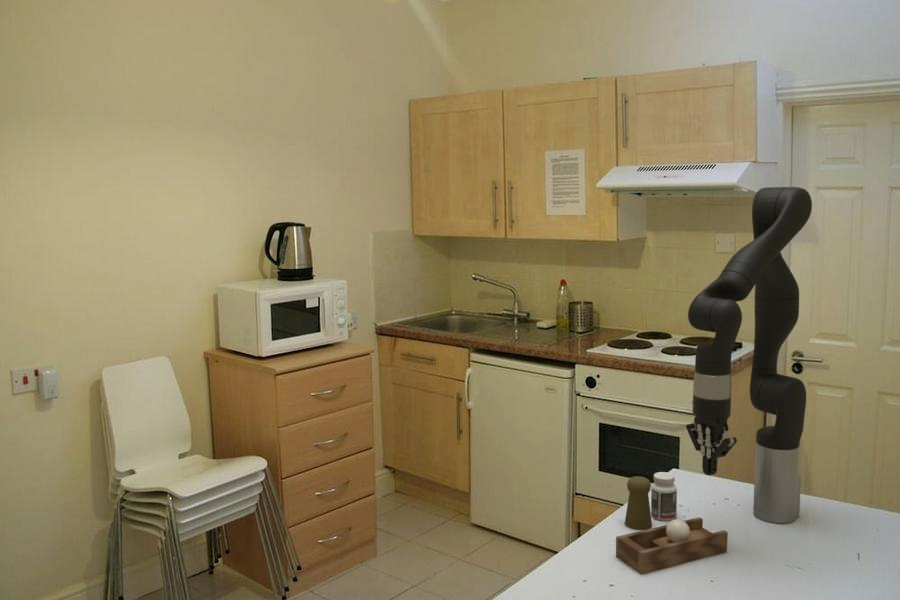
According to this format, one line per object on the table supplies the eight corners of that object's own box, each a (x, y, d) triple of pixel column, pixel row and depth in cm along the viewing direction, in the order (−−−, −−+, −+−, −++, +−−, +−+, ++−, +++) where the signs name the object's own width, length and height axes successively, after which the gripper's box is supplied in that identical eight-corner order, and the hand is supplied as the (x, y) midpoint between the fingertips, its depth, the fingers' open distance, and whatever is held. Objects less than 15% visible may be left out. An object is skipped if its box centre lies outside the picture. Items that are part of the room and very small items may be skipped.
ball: (679, 535, 167) (679, 513, 167) (694, 544, 163) (695, 522, 162) (660, 539, 165) (661, 518, 165) (676, 549, 161) (676, 526, 160)
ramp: (698, 536, 172) (699, 517, 171) (727, 552, 164) (727, 532, 164) (615, 556, 163) (616, 536, 163) (641, 574, 156) (641, 553, 155)
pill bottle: (679, 514, 184) (680, 473, 182) (672, 523, 179) (673, 481, 177) (654, 509, 187) (655, 469, 185) (647, 518, 182) (648, 477, 180)
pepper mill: (652, 531, 175) (653, 483, 173) (624, 529, 176) (625, 482, 175) (651, 520, 181) (652, 474, 179) (624, 518, 182) (625, 472, 181)
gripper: (749, 398, 159) (746, 481, 161) (703, 384, 171) (701, 461, 173) (721, 403, 156) (718, 487, 158) (676, 388, 167) (674, 466, 170)
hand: (709, 473), depth 165 cm, fingers closed
